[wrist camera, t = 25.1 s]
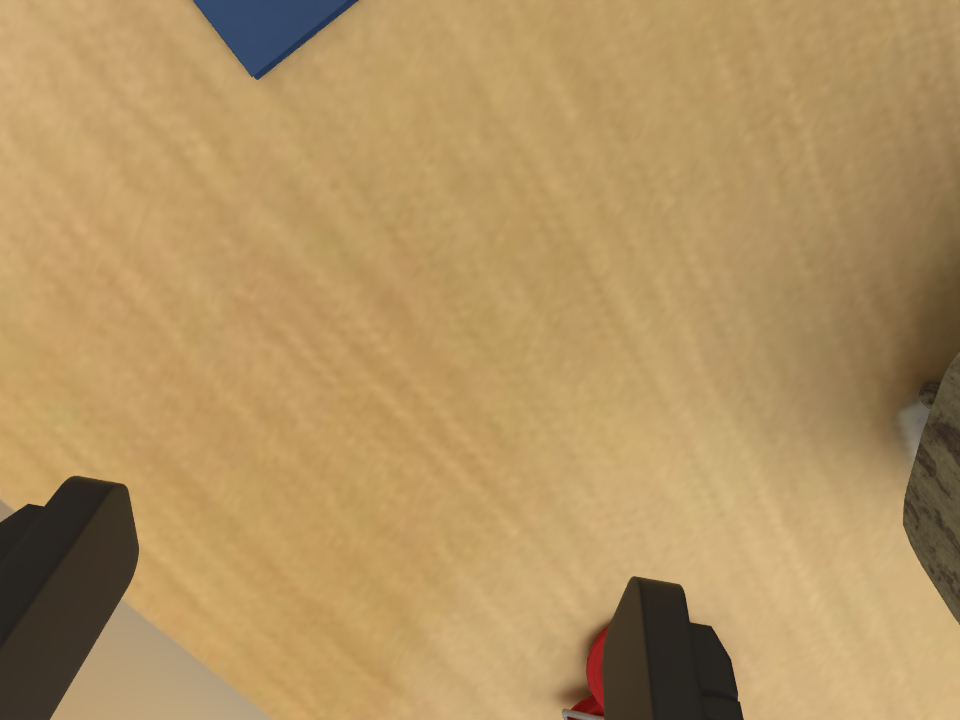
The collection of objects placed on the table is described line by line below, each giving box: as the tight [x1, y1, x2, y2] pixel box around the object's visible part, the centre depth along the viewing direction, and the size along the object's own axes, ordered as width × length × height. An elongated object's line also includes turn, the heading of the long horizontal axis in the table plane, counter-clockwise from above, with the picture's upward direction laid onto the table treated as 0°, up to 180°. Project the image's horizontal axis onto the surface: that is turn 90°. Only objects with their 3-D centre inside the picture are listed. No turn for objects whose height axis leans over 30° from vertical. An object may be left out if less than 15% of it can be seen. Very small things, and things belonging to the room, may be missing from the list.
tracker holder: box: [562, 627, 609, 720], centre depth 51 cm, size 12×4×10 cm
